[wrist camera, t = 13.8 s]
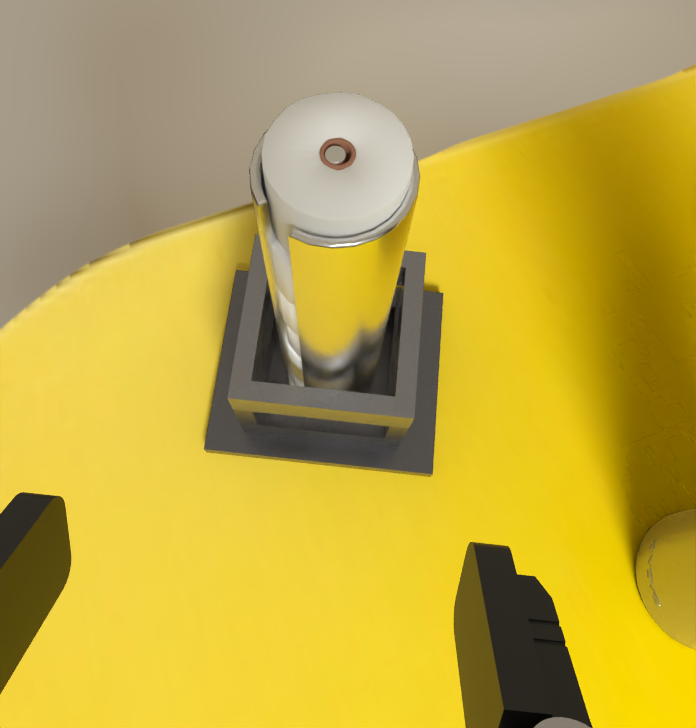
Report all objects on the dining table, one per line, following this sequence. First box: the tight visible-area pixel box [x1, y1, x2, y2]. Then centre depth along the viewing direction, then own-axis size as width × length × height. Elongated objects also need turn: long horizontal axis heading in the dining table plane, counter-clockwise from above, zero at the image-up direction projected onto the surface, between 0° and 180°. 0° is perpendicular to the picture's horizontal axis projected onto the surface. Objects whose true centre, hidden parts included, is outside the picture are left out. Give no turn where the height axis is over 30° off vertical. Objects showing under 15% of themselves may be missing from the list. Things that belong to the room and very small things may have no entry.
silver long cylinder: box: [249, 92, 420, 393], centre depth 35 cm, size 6×6×25 cm
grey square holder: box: [204, 234, 443, 477], centre depth 44 cm, size 16×14×10 cm
